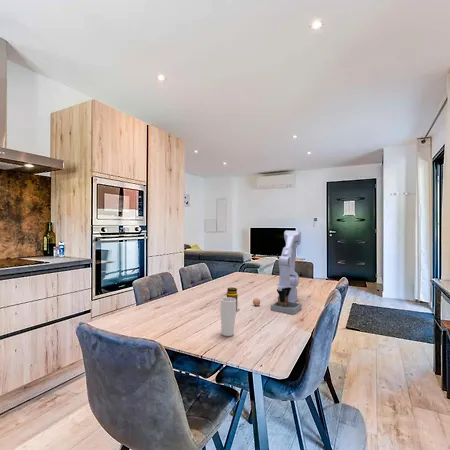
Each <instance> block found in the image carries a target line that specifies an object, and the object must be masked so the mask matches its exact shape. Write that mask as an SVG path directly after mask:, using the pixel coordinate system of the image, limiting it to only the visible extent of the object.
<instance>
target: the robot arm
mask: <svg viewBox="0 0 450 450" xmlns="http://www.w3.org/2000/svg"><path fill="white" fill-rule="evenodd" d="M283 238H284V241H285V246H284V247H282V251H281V254H280V256H279V258H278V269H279V278H278V279H279V281H278V283H277V284H276V285H277V289H276V291H277V293H278V296H279V298H280V302H284V301H285V296H288V301H289V302H294V303H297V302H298V301H299V298H298V288H297V287H298V286H299V281H300V279H299V274H298V273H297V272H296V271H295V269H296V259H297V258H296V257H297V248H298V246H299V245H301V240H302V232H301V231H300V230H287V229H286V230H285V231H284V232H283Z"/></svg>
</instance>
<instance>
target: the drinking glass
mask: <svg viewBox="0 0 450 450" xmlns="http://www.w3.org/2000/svg"><path fill="white" fill-rule="evenodd" d="M219 311H220V325H221V328H220V329H221V335H222V336H223V337H232V336H234V334H235V324H236V323H235V322H236V314H237V311H236V299H235V298H230V297H222V298H220V309H219Z"/></svg>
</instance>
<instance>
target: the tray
mask: <svg viewBox="0 0 450 450" xmlns="http://www.w3.org/2000/svg"><path fill="white" fill-rule="evenodd" d="M302 309H303V308H302V303H298V302H289V301H288V305H286V306H283V305H278V300H277V301H276V302H274V303H272V304H270V311H272V312H277V313H282V314H287V315H291V316H295V315H296V314H298V312H300V311H301V310H302Z"/></svg>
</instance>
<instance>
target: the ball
mask: <svg viewBox="0 0 450 450" xmlns="http://www.w3.org/2000/svg"><path fill="white" fill-rule="evenodd" d="M252 304H253V305H254V306H256V307H257V306H260V305H261V300H260V298H259V297H254V299H253V300H252Z"/></svg>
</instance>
